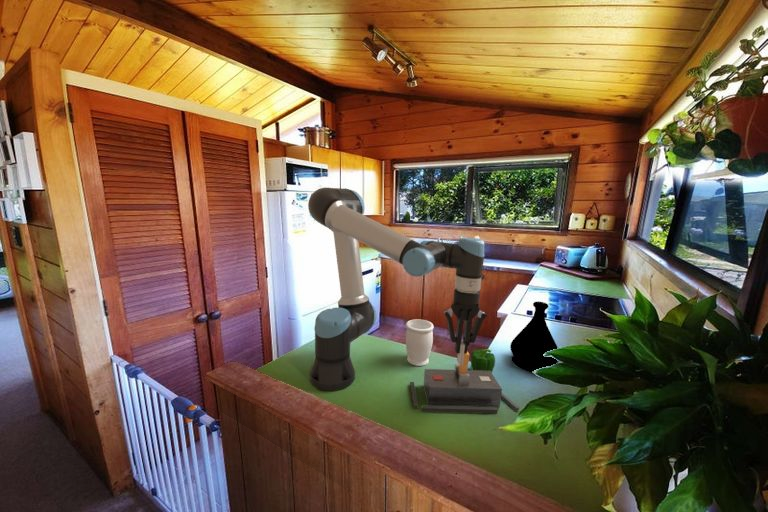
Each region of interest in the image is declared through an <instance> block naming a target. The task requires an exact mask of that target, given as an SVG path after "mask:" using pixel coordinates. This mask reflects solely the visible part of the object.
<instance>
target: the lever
mask: <svg viewBox="0 0 768 512" xmlns="http://www.w3.org/2000/svg"><path fill="white" fill-rule="evenodd" d="M470 356H471V354H470V353H469V351H468V350H467V354H464V359H463V365H459V370H458V371H459V372H458V374H459V373H467V370H468V366H469V361H470Z"/></svg>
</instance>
